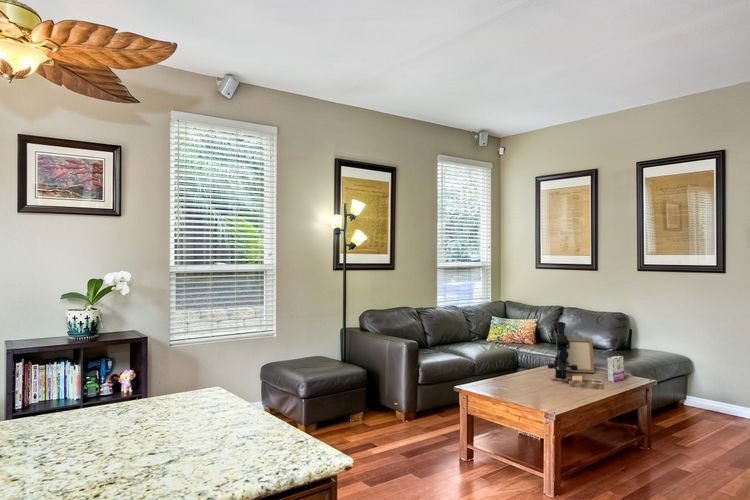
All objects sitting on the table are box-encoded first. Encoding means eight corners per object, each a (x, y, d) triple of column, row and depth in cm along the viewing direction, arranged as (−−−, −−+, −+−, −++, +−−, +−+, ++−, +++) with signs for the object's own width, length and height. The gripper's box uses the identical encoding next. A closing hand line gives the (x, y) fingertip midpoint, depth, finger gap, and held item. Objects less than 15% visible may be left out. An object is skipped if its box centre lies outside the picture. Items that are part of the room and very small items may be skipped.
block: (572, 384, 335) (572, 377, 335) (572, 382, 340) (572, 375, 340) (582, 385, 332) (581, 377, 332) (582, 383, 338) (582, 375, 338)
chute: (569, 386, 334) (568, 380, 334) (569, 383, 343) (569, 376, 343) (602, 389, 326) (601, 382, 326) (601, 385, 335) (601, 379, 335)
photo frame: (594, 373, 368) (593, 339, 369) (563, 372, 373) (562, 339, 374) (590, 369, 383) (589, 336, 384) (560, 368, 388) (559, 336, 389)
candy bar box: (618, 378, 353) (617, 355, 353) (624, 380, 349) (624, 356, 349) (607, 380, 348) (606, 357, 348) (613, 382, 344) (613, 358, 344)
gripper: (547, 357, 337) (547, 380, 336) (576, 359, 329) (577, 383, 329) (548, 354, 347) (548, 377, 347) (577, 356, 339) (578, 379, 339)
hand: (563, 379), depth 340 cm, fingers closed
